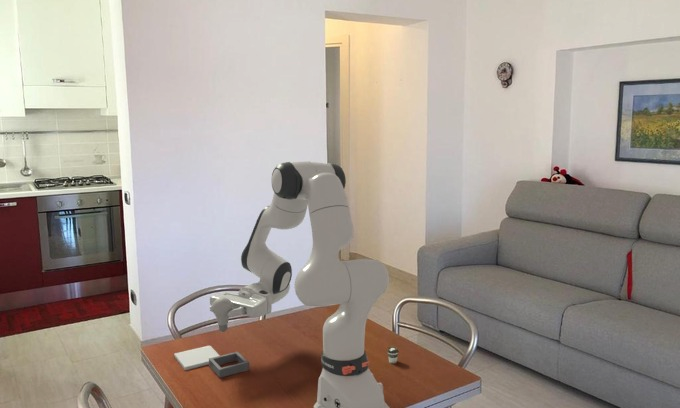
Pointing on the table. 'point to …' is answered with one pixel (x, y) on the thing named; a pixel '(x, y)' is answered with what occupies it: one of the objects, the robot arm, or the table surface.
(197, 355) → the mat
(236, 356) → the frame
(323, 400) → the robot arm
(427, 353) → the table surface
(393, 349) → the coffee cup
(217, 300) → the lightbulb
